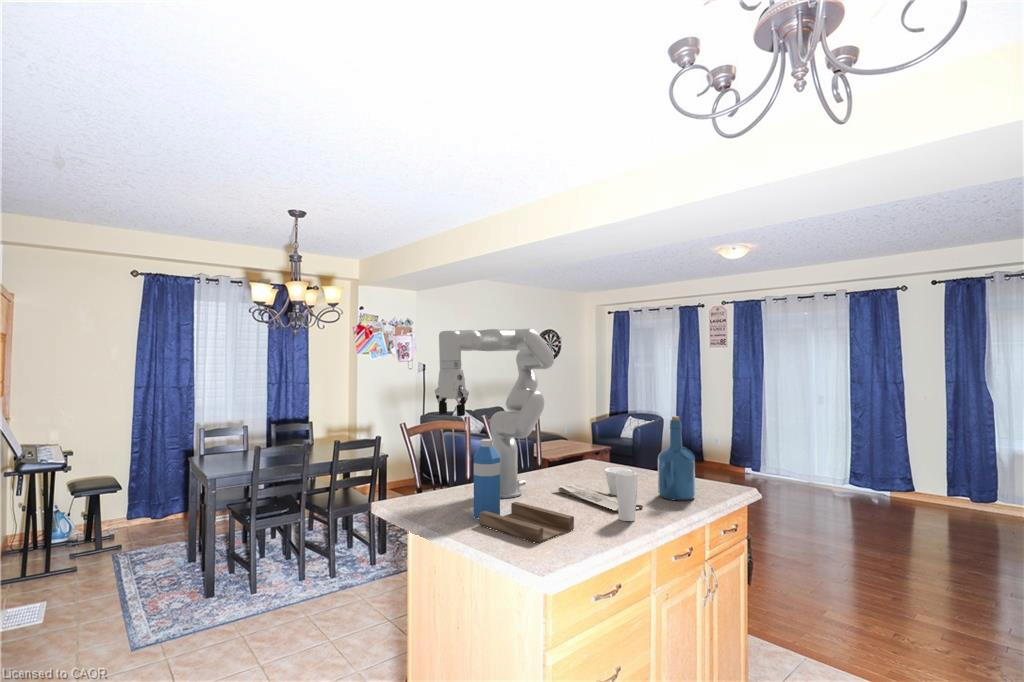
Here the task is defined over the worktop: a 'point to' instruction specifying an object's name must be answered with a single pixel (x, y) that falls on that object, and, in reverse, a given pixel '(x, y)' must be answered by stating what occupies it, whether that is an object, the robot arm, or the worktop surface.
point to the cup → (613, 478)
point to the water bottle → (486, 479)
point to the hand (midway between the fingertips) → (451, 414)
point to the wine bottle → (676, 467)
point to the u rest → (528, 522)
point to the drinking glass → (626, 494)
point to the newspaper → (592, 496)
